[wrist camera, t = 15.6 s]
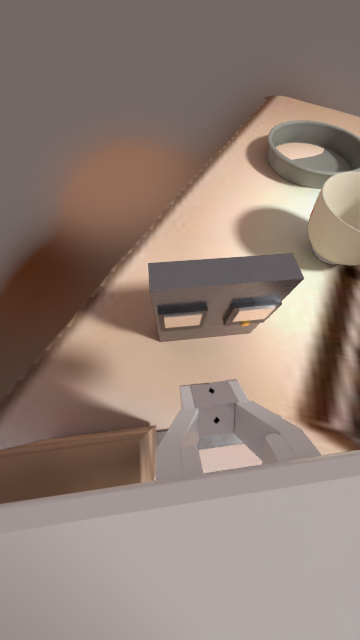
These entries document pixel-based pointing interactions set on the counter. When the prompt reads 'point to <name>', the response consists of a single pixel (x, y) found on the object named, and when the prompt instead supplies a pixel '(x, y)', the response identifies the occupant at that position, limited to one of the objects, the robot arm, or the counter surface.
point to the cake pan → (314, 171)
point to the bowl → (337, 220)
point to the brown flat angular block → (78, 464)
